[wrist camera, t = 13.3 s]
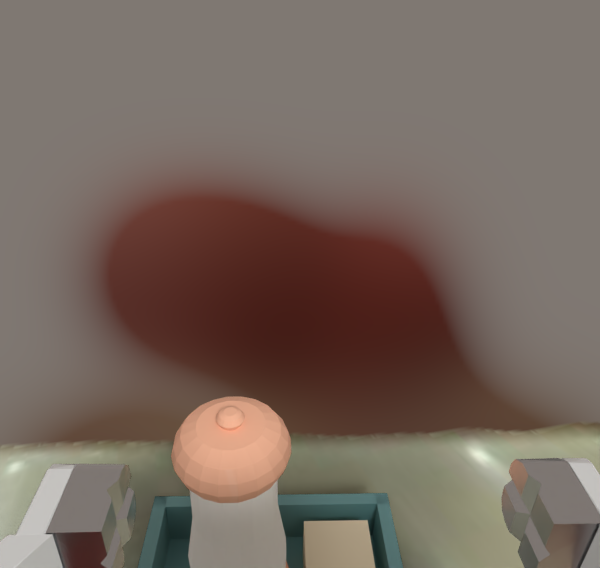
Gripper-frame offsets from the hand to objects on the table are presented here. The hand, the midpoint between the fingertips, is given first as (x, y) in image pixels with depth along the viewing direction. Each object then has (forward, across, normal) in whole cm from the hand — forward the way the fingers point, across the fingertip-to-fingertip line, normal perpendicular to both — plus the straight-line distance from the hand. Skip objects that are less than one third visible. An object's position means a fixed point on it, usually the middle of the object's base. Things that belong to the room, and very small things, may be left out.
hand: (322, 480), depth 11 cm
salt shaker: (+15, +4, +31) cm, 35 cm away
